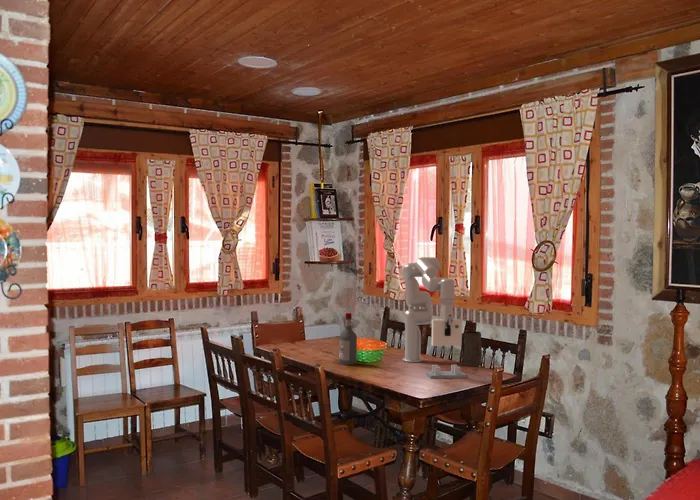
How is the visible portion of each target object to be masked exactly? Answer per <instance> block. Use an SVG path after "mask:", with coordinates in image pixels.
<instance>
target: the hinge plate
mask: <svg viewBox="0 0 700 500" xmlns="http://www.w3.org/2000/svg"><path fill="white" fill-rule="evenodd" d="M450 367H451V369H450V370H449V371H447V370H446V371H445V370H441V367H440V366H438V364H432V365H431V371H425V375H426V376H427V377H428V378H429V379H466V378H467V374H465V373H464V372H463V371H461V367H460V366H458V364H451V366H450Z"/></svg>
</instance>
